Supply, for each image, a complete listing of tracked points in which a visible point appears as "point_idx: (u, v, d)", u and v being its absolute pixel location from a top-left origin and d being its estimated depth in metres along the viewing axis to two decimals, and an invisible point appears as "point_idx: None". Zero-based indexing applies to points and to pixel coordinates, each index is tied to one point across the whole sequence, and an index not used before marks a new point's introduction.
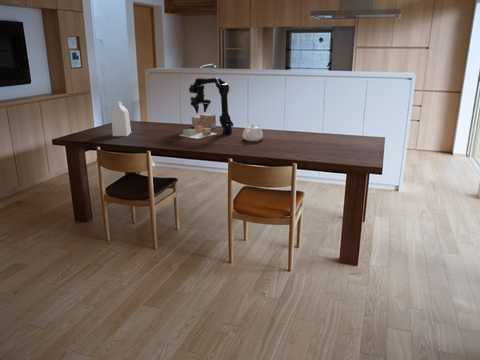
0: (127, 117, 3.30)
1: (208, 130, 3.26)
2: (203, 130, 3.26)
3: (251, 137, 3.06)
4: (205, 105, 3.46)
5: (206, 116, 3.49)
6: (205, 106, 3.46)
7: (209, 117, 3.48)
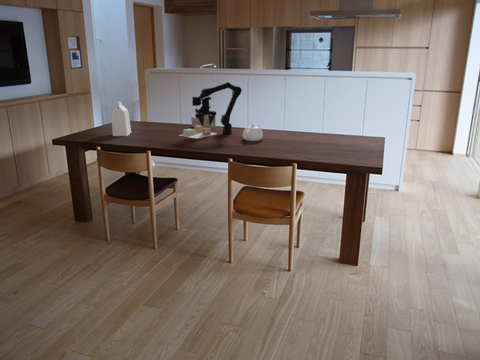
0: (127, 117, 3.30)
1: (208, 130, 3.26)
2: (203, 130, 3.26)
3: (251, 137, 3.06)
4: (210, 117, 3.28)
5: (206, 116, 3.49)
6: (210, 118, 3.28)
7: None
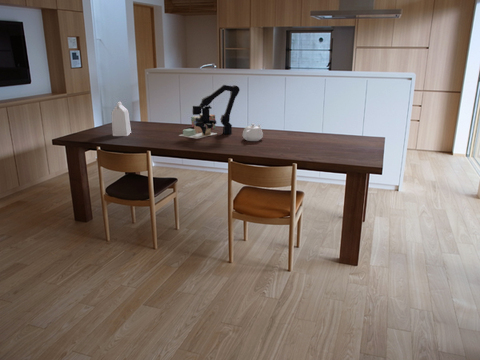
0: (127, 117, 3.30)
1: (208, 130, 3.26)
2: None
3: (251, 137, 3.06)
4: (209, 126, 3.29)
5: None
6: (209, 127, 3.29)
7: None
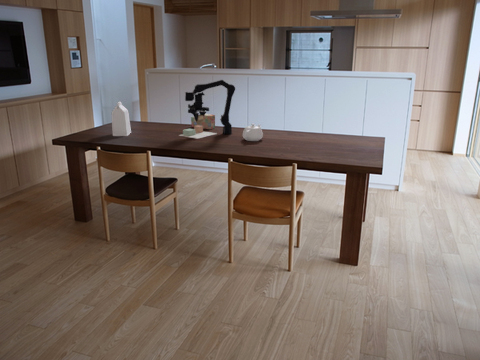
0: (127, 117, 3.30)
1: (201, 117, 3.23)
2: None
3: (251, 137, 3.06)
4: (202, 113, 3.26)
5: (205, 116, 3.49)
6: (202, 114, 3.26)
7: (208, 117, 3.48)
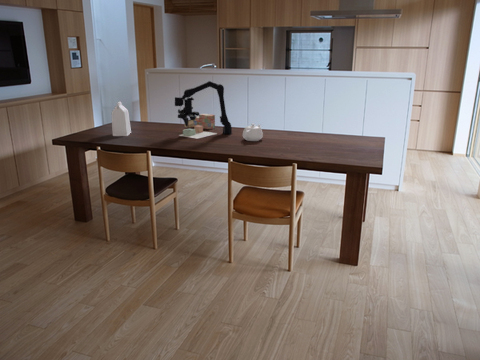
0: (127, 117, 3.30)
1: (191, 122, 3.24)
2: None
3: (251, 137, 3.06)
4: (192, 118, 3.27)
5: (205, 116, 3.49)
6: (192, 119, 3.27)
7: (208, 117, 3.48)
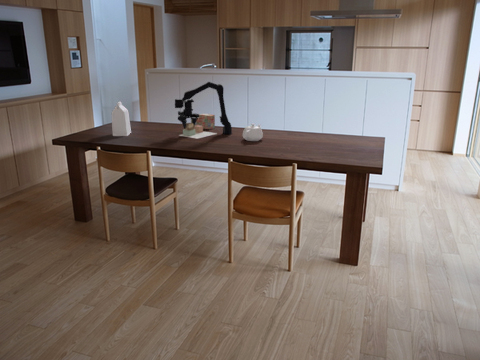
0: (127, 117, 3.30)
1: (191, 125, 3.25)
2: (186, 125, 3.25)
3: (251, 137, 3.06)
4: (193, 119, 3.29)
5: (205, 116, 3.49)
6: (193, 120, 3.29)
7: (208, 117, 3.48)
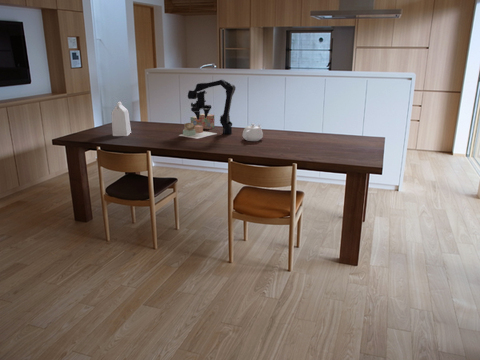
0: (127, 117, 3.30)
1: (191, 125, 3.25)
2: (186, 125, 3.25)
3: (251, 137, 3.06)
4: (206, 111, 3.36)
5: None
6: (206, 112, 3.37)
7: (208, 117, 3.48)
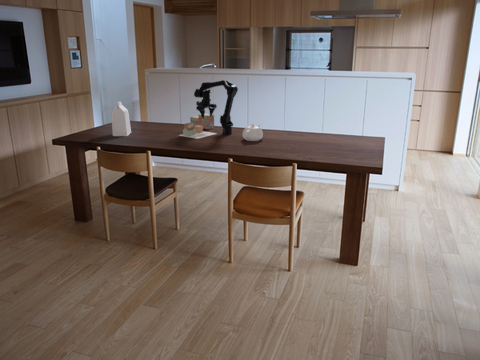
0: (127, 117, 3.30)
1: (191, 125, 3.25)
2: (186, 125, 3.25)
3: (251, 137, 3.06)
4: (211, 109, 3.40)
5: (204, 116, 3.50)
6: (211, 110, 3.40)
7: (207, 117, 3.48)
